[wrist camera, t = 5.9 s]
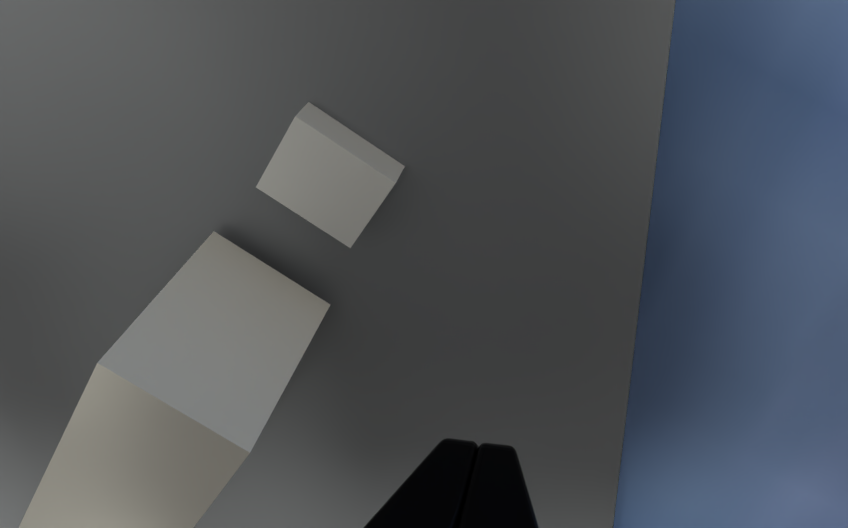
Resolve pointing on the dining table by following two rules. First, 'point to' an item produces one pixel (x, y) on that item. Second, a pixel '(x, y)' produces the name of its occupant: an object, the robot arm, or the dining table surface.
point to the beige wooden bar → (179, 397)
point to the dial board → (342, 226)
